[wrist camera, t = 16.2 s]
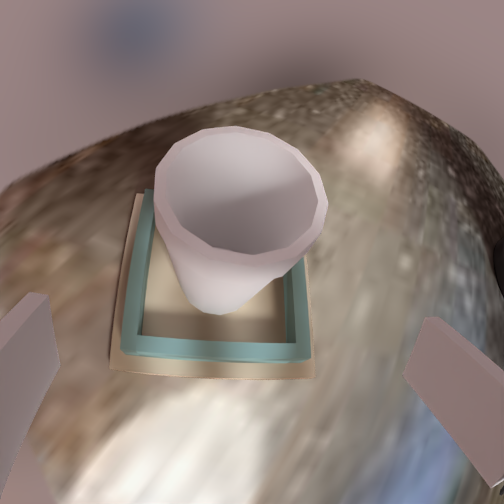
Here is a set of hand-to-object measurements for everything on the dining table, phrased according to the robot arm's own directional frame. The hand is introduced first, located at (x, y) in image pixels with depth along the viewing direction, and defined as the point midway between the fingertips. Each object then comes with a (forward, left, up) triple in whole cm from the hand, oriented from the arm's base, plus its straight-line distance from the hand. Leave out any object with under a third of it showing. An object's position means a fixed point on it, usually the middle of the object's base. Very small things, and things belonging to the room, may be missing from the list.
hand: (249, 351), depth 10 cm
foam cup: (0, -9, -16) cm, 19 cm away
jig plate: (0, -9, -17) cm, 19 cm away
